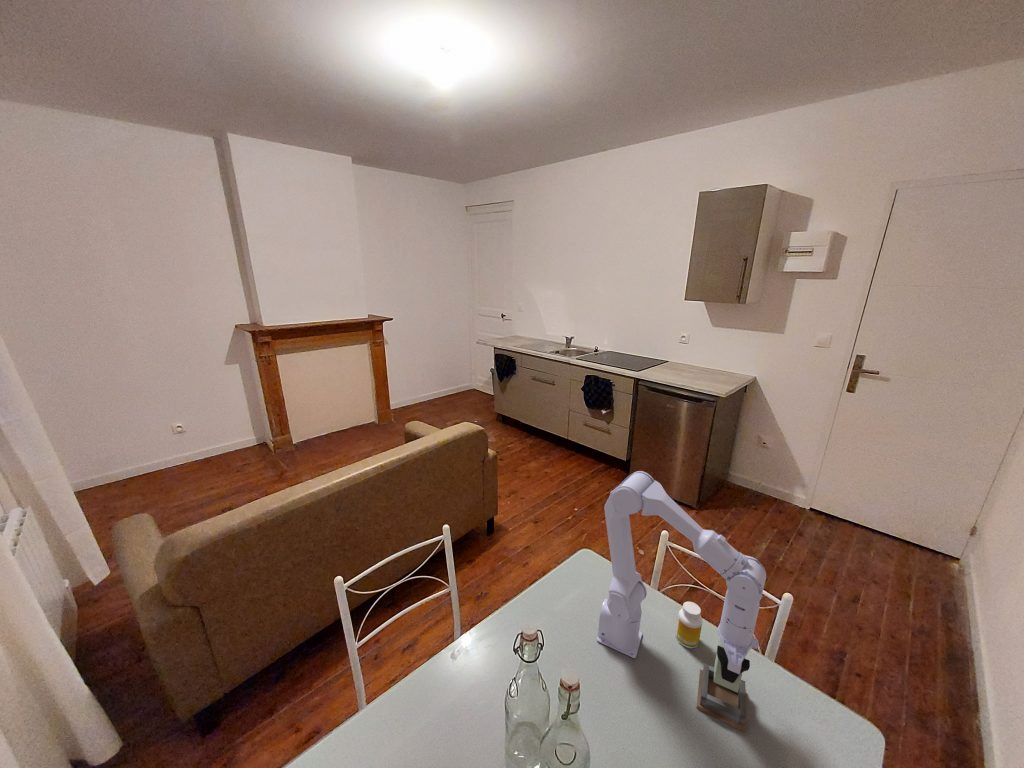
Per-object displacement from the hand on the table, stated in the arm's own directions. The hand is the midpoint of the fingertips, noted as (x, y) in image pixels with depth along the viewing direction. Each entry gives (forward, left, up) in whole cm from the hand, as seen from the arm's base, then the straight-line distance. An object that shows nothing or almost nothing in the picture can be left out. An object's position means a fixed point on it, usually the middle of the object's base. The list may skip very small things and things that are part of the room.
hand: (727, 669), depth 80 cm
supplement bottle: (-8, +12, -9) cm, 17 cm away
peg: (0, 0, -2) cm, 2 cm away
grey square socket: (0, 0, -9) cm, 9 cm away
